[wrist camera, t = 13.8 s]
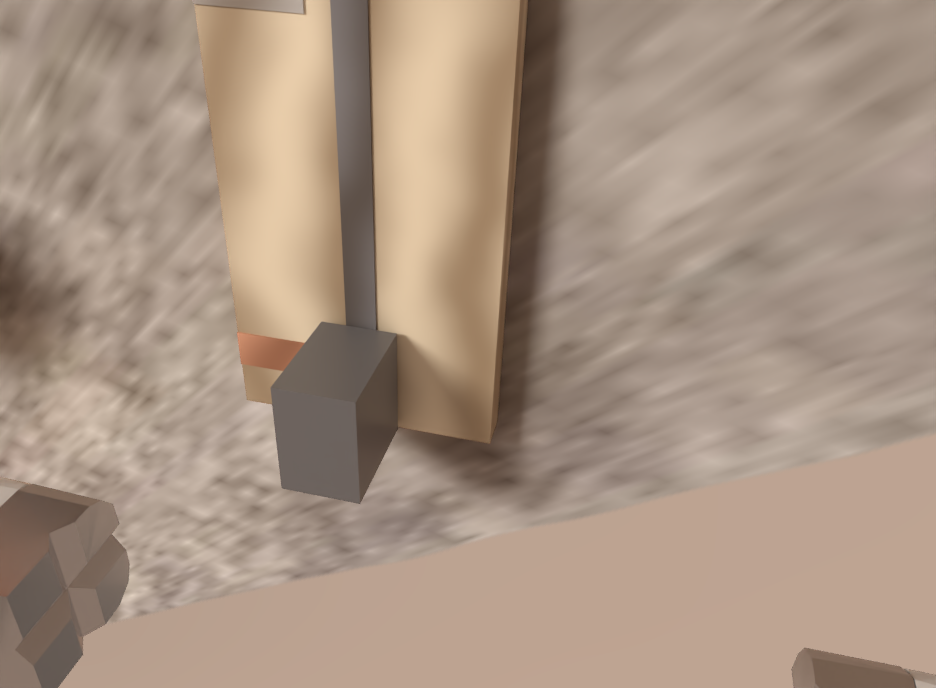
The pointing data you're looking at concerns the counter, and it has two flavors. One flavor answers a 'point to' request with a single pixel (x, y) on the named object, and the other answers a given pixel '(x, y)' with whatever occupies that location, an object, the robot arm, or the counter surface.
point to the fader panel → (371, 185)
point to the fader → (336, 411)
